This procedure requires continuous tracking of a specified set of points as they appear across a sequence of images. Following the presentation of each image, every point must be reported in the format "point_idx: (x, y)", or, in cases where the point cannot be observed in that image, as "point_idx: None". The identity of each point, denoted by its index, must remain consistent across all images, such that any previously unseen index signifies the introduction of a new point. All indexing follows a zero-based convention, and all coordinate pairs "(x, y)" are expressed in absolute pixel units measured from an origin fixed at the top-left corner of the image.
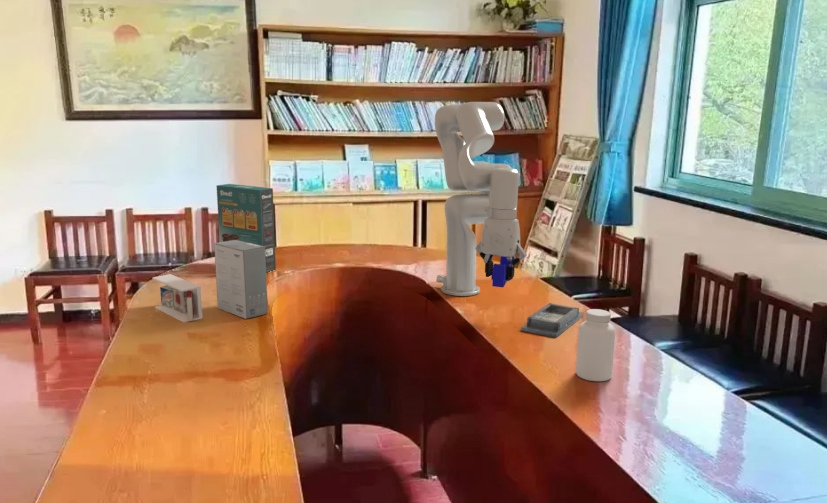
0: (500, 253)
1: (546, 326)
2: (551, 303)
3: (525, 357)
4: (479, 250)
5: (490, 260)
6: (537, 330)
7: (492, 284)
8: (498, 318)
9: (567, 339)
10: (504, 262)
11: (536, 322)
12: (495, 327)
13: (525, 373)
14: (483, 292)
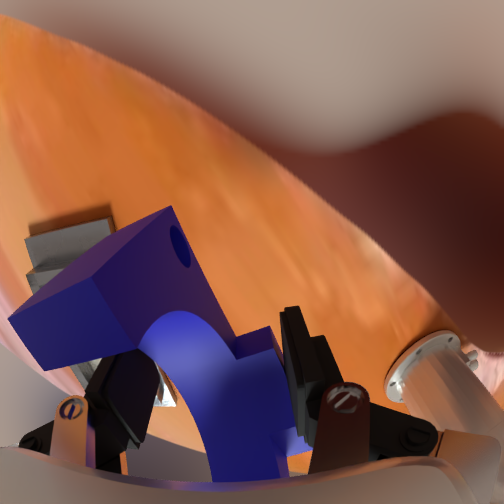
0: (77, 498)
1: (57, 264)
2: (156, 404)
3: (18, 65)
4: (455, 453)
5: (308, 431)
6: (62, 229)
7: (166, 208)
8: (238, 270)
9: (15, 245)
10: (248, 468)
11: None
12: (189, 184)
13: (3, 17)
14: (376, 394)
